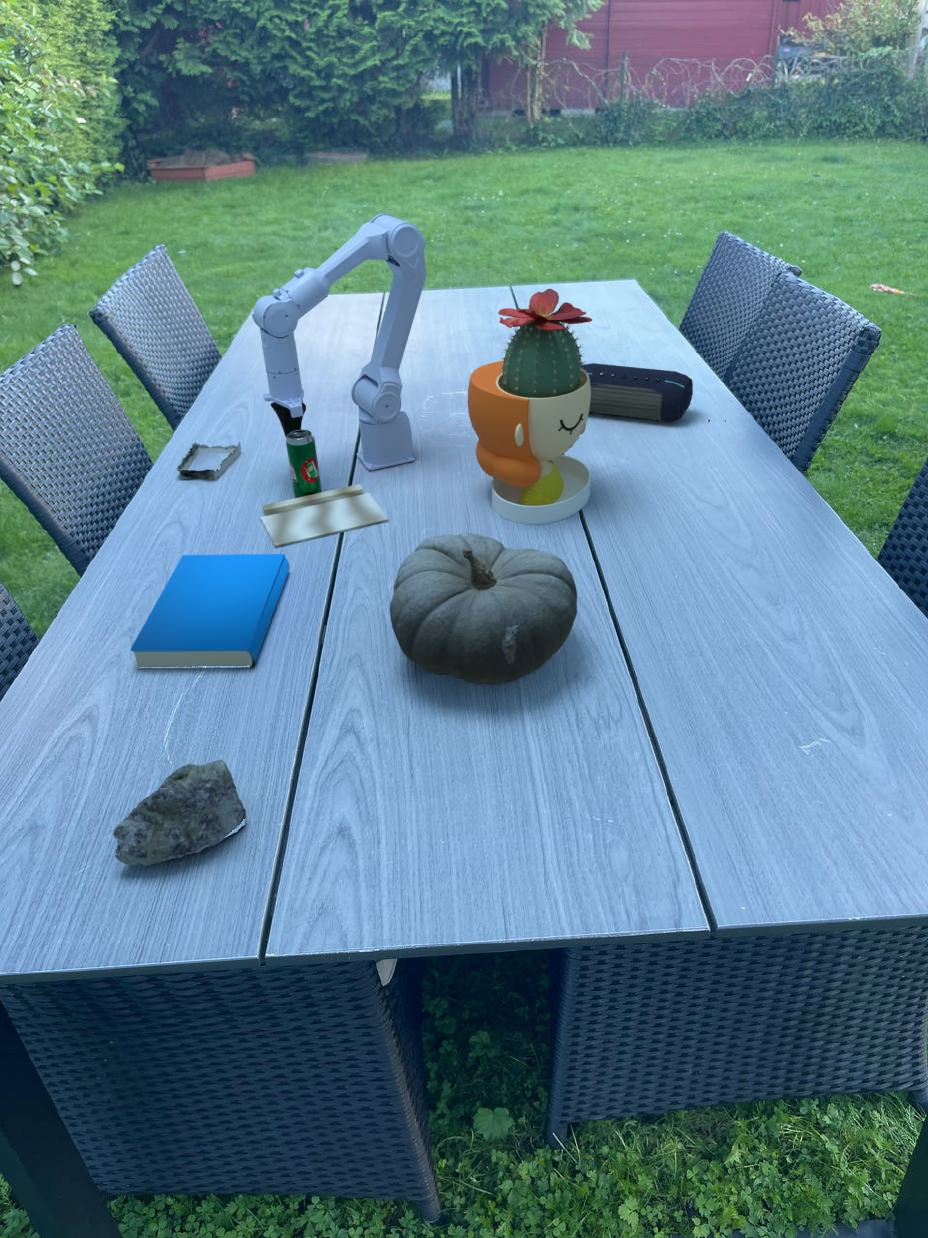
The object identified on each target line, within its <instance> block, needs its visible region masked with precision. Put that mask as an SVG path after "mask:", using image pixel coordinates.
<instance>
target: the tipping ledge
mask: <svg viewBox="0 0 928 1238" xmlns="http://www.w3.org/2000/svg"><path fill="white" fill-rule="evenodd" d="M262 510H263V514H264V516H263V515H262V516H261V517H260V521H261V522H262V524H263V526H264V529H265V530H266V532H267V534H268V536H269V538H270V540H271V542H272V543H273V545H274V547H275V548H276V549H277V548H280V547H285V546H289V545H293V544H298V543H302V542H306V541H307V542H308V541H310V540H314V539H318V538H322V537H326V536H331V535H335V534H339V533H344V532H348V531H353V530H357V529H361V528H365V527H371V526H375V525H378V524H383V523H387V522H389V520H390V519H389V517H387V515H386V514H385V513H384V510H382V509H381V507H380V506H379V505H378V503H377V502H376V500H375V499H374V498H373V497H372V496H371V494H370V493H369V492H365V493H364V488H363V487H362V485H361V484H360V483H359V484H353V485H349V486H346V487H340V488H335V489H332V490H327V491H322V492H321V493H317V494H312V495H308V496H303V497H299V498H297V497H295V498H291V499H285V500H282V501H281V500H280V501H276V502H272V503H267V504H264V505H262Z"/></svg>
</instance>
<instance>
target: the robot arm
mask: <svg viewBox="0 0 928 1238" xmlns="http://www.w3.org/2000/svg"><path fill="white" fill-rule="evenodd" d="M426 245H427V241H426V240H425V237H424V236H423V234H422V233H421V231H420V229H419V228H418V226H417V225H415V224H414V223H412V222H411V221H410V222H409V221H405V220H402V219H399V218H396V217H395V216H392V215H391V214H388V213H379V214H376V215H375V216H374V217H372V219H371V220H370V221H367V222H365V223H363V224H362V225H361V226H360V228H359V229H358V231H357V232H356V233H355V235H353V236H352V237H351V238H350V239H348V241H346V242H345V243H344V244H343V245H342V246H341V247H340V248H338V249H337V250H336V251H335V252H334V253H333V254H332V255H330V256H329V257H328V259H326V260H325V261H324V262H322V264H320V265H319V266H318V267H317V268H311V267H305V268H304V269H301V268H298V269H297V270H296V271H294V277H292V279H290V280H288V281H287V282H286V283H285V284H284V285H282V286H281V287H280V288H277V287H276V288H274V289H273V291H272V294H273V295H271V294H270V295H265V296H261V298H259V299H258V300H257V301H256V303H255V306H254V308H253V313H252V314H251V317H252V320H253V322H254V323H255V325H257V327H258V328H259V333H260V338H261V349H262V353H263V355H262V356H263V360H264V365H265V372H266V377H267V384H268V390H269V392H268V393H265V394H263V395H262V396H263V400H264V402H268V403H269V402H271V403H270V407H271V409H272V410H273V411H274V412H275V415H276V416H277V418H278V420H279V422H280V425H281V427H282V431H283V434H284V436H285V438H286V439H287V434H288V433H290V432H291V431H294V430H301V429H302V423H303V418H304V415H305V413H306V410H307V405H306V403H304V397H305V391H304V389H303V386H302V379H301V372H300V365H299V359H298V352H297V345H296V343H297V342H296V340H295V334H294V333H295V331H296V329H297V327H298V322H299V320H300V319H301V318H302V317H304V316H305V315H307V314H308V313H309V312H310V311H312V310H313V309H314V308H316V307H317V306H318V305H319V304H320V303H321V302H323V301H324V300H326V298H328V297H329V293H330V287H331V286H332V285H333V284H334V283H336V282H337V281H339V280H340V279H341V278H343V277H344V276H345V275H347V274H349V273H350V272H352V270H354V269H356V268H358V267H359V266H360V265H362V264H363V263H364V262H366V261H368V260H371V261H372V260H376V261H377V260H379V261H385V262H386V263H387V265H388V267H389V269H390V271H391V272H392V274H393V279H392V282H391V283H392V284H391V287H390V289H389V293H388V298H387V301H386V305H385V307H384V308H385V310H384V311H383V315H382V319H381V322H380V327H379V330H378V334H377V337H376V341H375V344H374V348H373V352H372V355H371V358H370V361H369V362H367V364H365V365H364V366H363V367H362V368H361V372H360V374H359V376H358V378H357V379H356V380H355V382H353V385H352V387H351V390H350V391H351V393H350V396H351V399H352V401H353V403H354V404H355V405H356V406H357V407H358V422H359V423H358V424H359V432H360V442H361V449H362V451H360V452H357V453H356V457H357V458H358V459H359V460H360V462H361V463H362V465H364V467H365V468H366V469H367V470H368V471H374V470H378V469H383V468H389V467H393V466H398V465H402V464H406V463H411V462H415V461H416V460H415V457H414V450H413V449H414V447H413V436H412V426H411V422H410V419H409V415H407V413H406V412H405V411H402V410H401V408H402V398H401V395H402V394H401V393H402V389H403V383H402V379H401V375H400V372H399V371H400V368H401V364H402V360H403V358H404V353H405V350H406V347H407V344H408V340H409V336H410V334H411V330H412V327H413V323H414V320H415V316H416V312H417V309H418V306H419V302H420V299H421V296H422V294H423V293H422V292H423V290H424V285H425V282H426V278H427V267H426V266H427V265H426V258H425V248H426ZM286 439H285V440H286Z"/></svg>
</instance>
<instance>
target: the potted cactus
mask: <svg viewBox="0 0 928 1238" xmlns="http://www.w3.org/2000/svg"><path fill="white" fill-rule="evenodd" d="M559 300H560V296H559V293H558V292H557V290H554V289H552V288H546V289H545V290H544V291H537V292H535V293H533V295H531V296H530V299H529V302H528V303H529V304H528V308H520V307H518V308H517V309H516V308H511V307H505V308H500V309H499V310H498V312H497V314H498V315H500V317H499V319H500V320H499V321H498V322H499V324H502V325H504V326H505V327H507V328H509V329H512V330H513V332H514V333H515V334H513V332H511V333H509V335H507V336H508V337H507V338H508V339H509V340H510V342H509V340H506V341H504V344H505V345H507V346H508V347H507V348H506V347H505V346H504V345H503V346H504V348H503V354H505V355H504V357H503V356H502V355H501V354H500V356H499V357H500V360H499V361H495V362H490V363H487V364H484V365H482V366H479V367H478V368H476V369H474V370H473V371H472V372H471V374H470V377H469V381H468V382H469V383H468V388H467V409H468V417H469V420H470V421H469V422H470V424H471V427H472V429H473V431H474V432H475V435H476V436H477V438H478V440H477V442H476V447H475V456H476V461H477V463H478V465H479V466H480V468H481V470H482V471H483V472H484V473H485V474H486V475H488V476H490V477H492V480H491V504H492V508H493V510H494V512H495V513H497V514H498V515H499V516H500V517H502V518H503V519H505V520H508V521H510V522H513V523H516V524H517V523H518V524H523V525H544V524H551V523H554V522H558V521H562V520H565V519H567V518H570V517H571V516H573V515H575V514H577V513H578V512H579V511H580V510H582V509H583V508H584V507H585V506H586V505H587V503H588V501H589V500H590V496H591V480H592V479H591V477H592V474H591V471H590V468H589V467H588V465H587V464H585V462H584V461H582V460H580V459H579V458H575V457H573V456H570V455H568V454H567V455H566V453H567V452H568V451H569V450H570V449H571V448H572V447H573V446H574V445H575V443H576V442H577V441H578V440H579V438H580V436H581V435H583V434H584V433H585V431H586V427H587V421H588V418H589V414H590V413H591V412H590V407H591V405H590V400H591V385H590V379H589V375H588V373H587V372H586V371H585V370H583V369H584V368H583V369H582V365H586V364H587V363H586V361H582V358H583V357H584V358H585V353H584V352H583V353H582V354H581V352H582V351H581V350H580V349H581V348H582V344H580V345H579V340H580V339H582V338H579V336H580V335H578V336H577V337H575V334H576V333H575V331H574V330H572V331H571V332H570V328H571V326H572V325H576V324H585V323H591V322H593V319H592V317H589V316H585V315H587V312H586V311H583V310H582V309H581V308H579V307H575V306H574V305H573V304H572V303H570V302H567V301H566V302H563V303H562V304H561V305H560V306H559V307H558V309H557V310H556V308H557V306H558V305H559ZM555 310H556V311H555ZM554 311H555V312H554ZM501 316H503V317H504V316H505V317H507V318H503V317H501ZM566 324H567V325H566ZM565 325H566V326H565ZM513 328H514V329H513ZM578 345H579V346H578Z"/></svg>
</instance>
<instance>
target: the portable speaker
mask: <svg viewBox="0 0 928 1238" xmlns="http://www.w3.org/2000/svg"><path fill="white" fill-rule="evenodd" d="M585 364H586V365H584V364H582V369H583V368H584V369H583V370H585V371H586V372H587V373H588V375H589V379H590V385H591V400H590V405H591V407H590V412H589V413H593V414H600V415H601V414H604V415H611V416H618V415H620V416H621V417H627V416H630V417H629V418H635V417H639V418H638V419H644V418H648V419H647V420H652V419H656V420H655V421H661V420H663V421H662V422H674V421H677V420H680V419H681V418H683V417H684V415H685V413H686V411H687V410H688V409H689V407H690V405H691V404H692V403H691V402H692V399H693V395H694V390H693V389H694V385H693V384H694V382H693V378H691V377H689V376H688V375H687V374H684V373H681V372H678V371H674V370H666V369H665V370H664V369H657V368H656V369H655V368H654V369H653V368H645V367H635V366H633V367H632V366H625V365H614V364H606V363H605V364H604V363H594V362H593V363H585Z"/></svg>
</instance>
